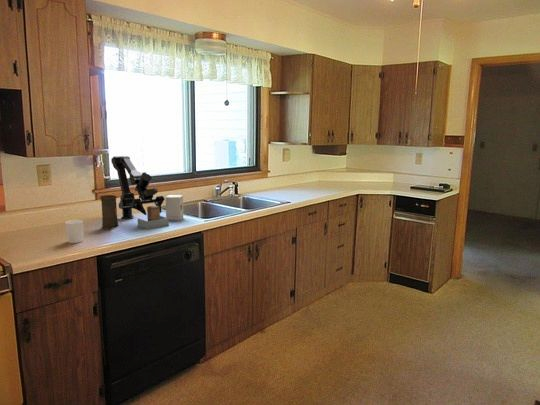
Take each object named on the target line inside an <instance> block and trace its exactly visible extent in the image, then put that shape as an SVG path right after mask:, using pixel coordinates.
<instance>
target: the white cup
mask: <svg viewBox="0 0 540 405" xmlns="http://www.w3.org/2000/svg"><path fill="white" fill-rule="evenodd" d="M65 229H66V230H65V231H66V236H67V242H68V243H69V244H77V243H81V242H82V243H83V241H84V220H83V219H72V220H68V221H67V220H66V221H65Z"/></svg>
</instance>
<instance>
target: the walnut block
mask: <svg viewBox="0 0 540 405" xmlns="http://www.w3.org/2000/svg"><path fill="white" fill-rule="evenodd" d="M146 216H147V221H152V220H158V219H160V216H161V213H160V207H158V206H156V205H151V206H147V207H146Z"/></svg>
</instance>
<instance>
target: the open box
mask: <svg viewBox="0 0 540 405" xmlns="http://www.w3.org/2000/svg"><path fill="white" fill-rule="evenodd" d="M169 224H170V222H169V220H168V218H166V216H162V215H160V219H158V220H152V221H148V220H145V219H141V218H139V217H138V218H137V227H140V228H142V229H145V230H151V229H157V228H163V227H168V226H169Z"/></svg>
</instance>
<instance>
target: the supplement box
mask: <svg viewBox="0 0 540 405" xmlns="http://www.w3.org/2000/svg"><path fill="white" fill-rule="evenodd" d="M165 217H166V218H168V221H182V220H183V219H184V195H183V194H168V195H167V196H165Z"/></svg>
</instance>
